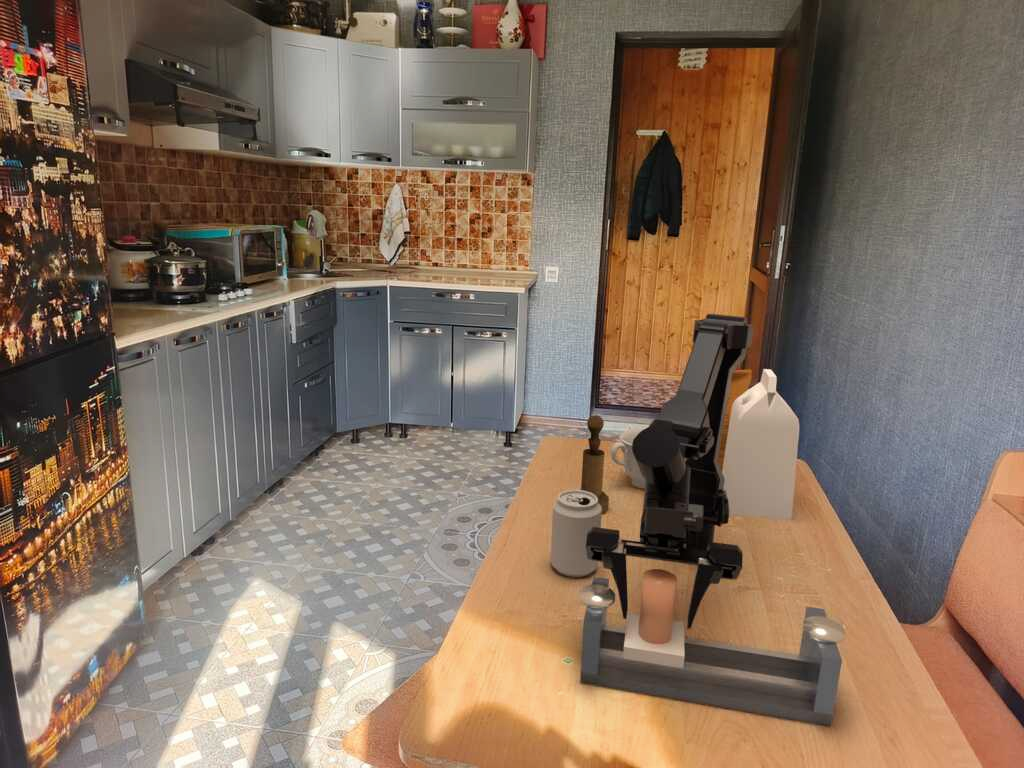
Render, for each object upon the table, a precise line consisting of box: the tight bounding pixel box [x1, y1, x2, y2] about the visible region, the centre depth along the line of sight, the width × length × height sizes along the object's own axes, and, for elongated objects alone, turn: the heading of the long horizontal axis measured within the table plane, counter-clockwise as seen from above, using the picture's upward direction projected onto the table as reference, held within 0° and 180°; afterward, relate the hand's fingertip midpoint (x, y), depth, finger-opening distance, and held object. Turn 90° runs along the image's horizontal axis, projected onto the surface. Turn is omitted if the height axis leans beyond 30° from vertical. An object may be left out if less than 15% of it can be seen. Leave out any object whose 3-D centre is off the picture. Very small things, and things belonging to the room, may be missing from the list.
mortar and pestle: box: [579, 414, 610, 515], centre depth 128 cm, size 7×6×18 cm
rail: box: [578, 576, 846, 727], centre depth 84 cm, size 30×10×9 cm, turn 77°
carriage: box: [623, 568, 685, 668], centre depth 84 cm, size 7×7×9 cm
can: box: [550, 489, 602, 578], centre depth 108 cm, size 8×8×12 cm
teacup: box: [609, 427, 647, 490], centre depth 140 cm, size 12×15×10 cm
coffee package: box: [685, 369, 753, 471], centre depth 151 cm, size 10×12×22 cm
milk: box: [722, 368, 800, 521], centre depth 131 cm, size 12×12×26 cm
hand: (656, 622), depth 83 cm, fingers open, 7 cm apart
